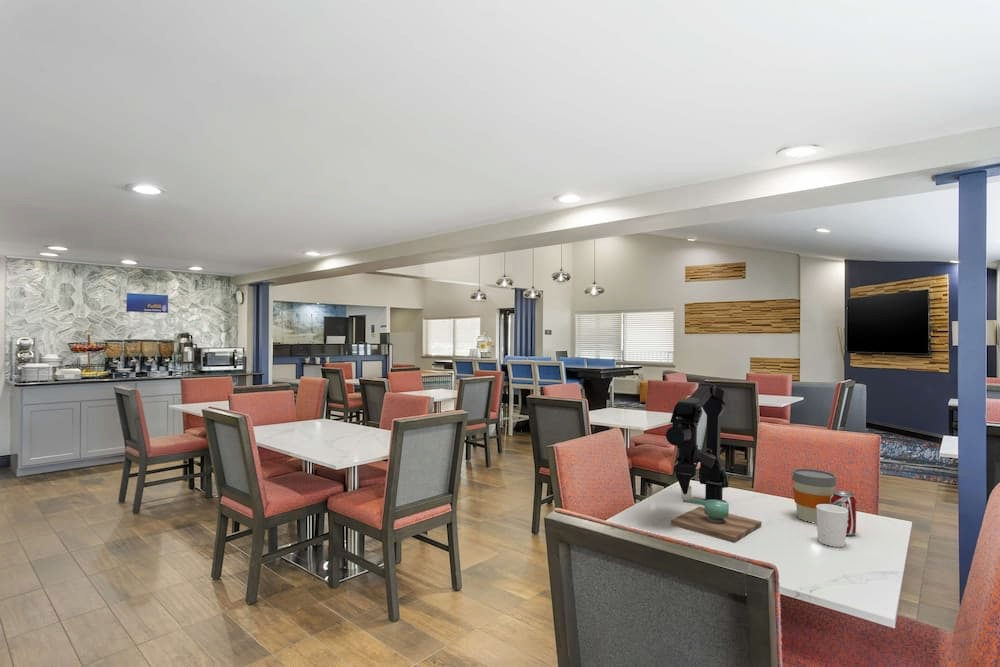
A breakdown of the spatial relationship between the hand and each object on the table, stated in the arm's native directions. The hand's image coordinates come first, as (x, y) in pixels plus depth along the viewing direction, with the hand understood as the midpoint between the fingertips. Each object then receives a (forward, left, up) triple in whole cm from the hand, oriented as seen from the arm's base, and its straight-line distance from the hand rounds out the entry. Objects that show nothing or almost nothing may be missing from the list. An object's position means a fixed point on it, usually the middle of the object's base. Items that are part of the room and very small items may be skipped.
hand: (686, 490), depth 176 cm
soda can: (-27, +37, -10) cm, 47 cm away
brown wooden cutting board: (-4, +8, -10) cm, 13 cm away
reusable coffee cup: (-34, +27, -10) cm, 44 cm away
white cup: (-15, +37, -10) cm, 41 cm away
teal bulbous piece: (-2, +5, -6) cm, 8 cm away
